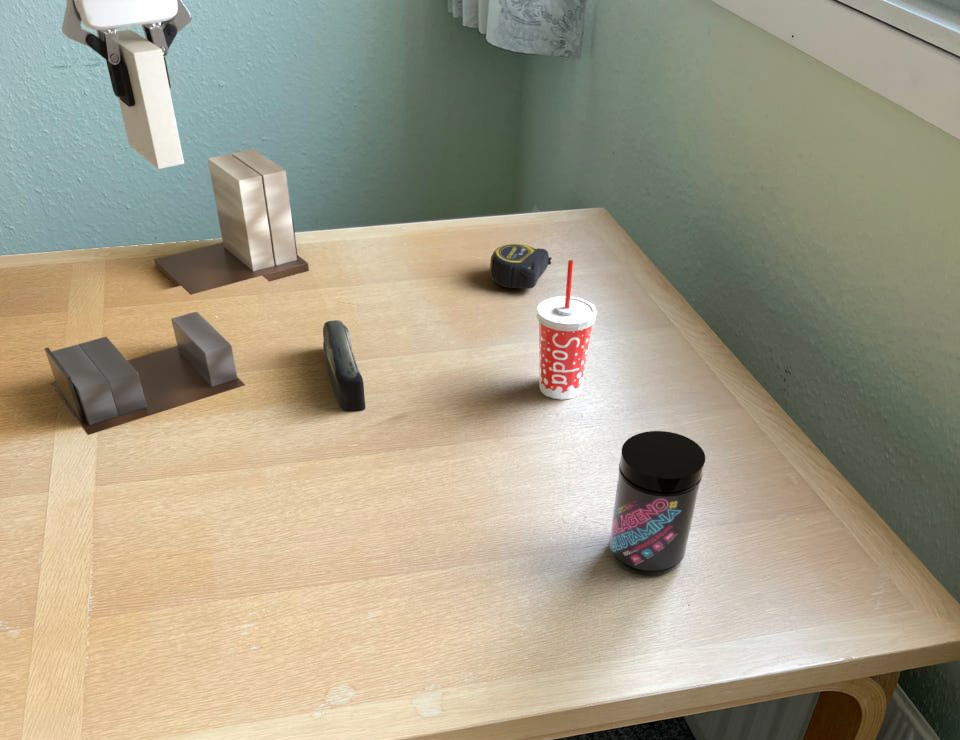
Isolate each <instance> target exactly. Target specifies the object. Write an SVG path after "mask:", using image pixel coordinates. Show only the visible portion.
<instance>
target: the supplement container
mask: <svg viewBox="0 0 960 740" xmlns="http://www.w3.org/2000/svg"><path fill="white" fill-rule="evenodd" d="M705 463H706V454H705V451H704V450H703V448H702V447H701V445H699V444H698V443H697V442H696V441H695V440H693V439H691V438H689V437H687V436H685V435H682V434H680V433H676V432H673V431H667V430H666V431H664V430H650V431H645V432H639V433H637V434H634V435H632V436H630V437H629V438H627V439H626V441H625V442H624V443H623V444H622V447H621V452H620V458H619V463H618V476H617V484H616V490H615V492H616V493H615V497H614V504H613V510H612V511H613V512H612V519H611V526H610V532H609V533H610V535H609V540H608V541H609V542H608V548H609V551H610V552H609V553H610V554H611V557H612V558H613V559H614V561H615V562H616V563H617V564H618V565H619V566H621V567H622V568H623V569H625V570H627V571H629V572H631V573H633V574H638V575H643V576H657V575H662V574H666V573H668V572H670V571H673V570H674V569H676V568H677V567H678V566H679V565H680V564H681V563H682V561H683V559H684V558H685V555H686V550H687V546H688V542H689V536H690V532H691V527H692V523H693V518H694V513H695V509H696V504H697V498H698V494H699V490H700V485H701V483H702V478H703V476H704V475H703V474H704V473H703V472H704V468H705Z"/></svg>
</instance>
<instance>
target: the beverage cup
mask: <svg viewBox="0 0 960 740" xmlns="http://www.w3.org/2000/svg"><path fill="white" fill-rule="evenodd" d="M573 267H574V260H573V259H569V260H568V261H567V272H566V286H565V287H566V288H565V295H562V296H561V295H559V296H552V297H550V298H549V297H548V298H545V299H543V300H542V301H540V302H539V303H538V305H537V307H536V318H537V320H538V349H539V350H538V354H539V355H538V358H539V359H538V362H539V364H538V365H539V366H538V367H539V368H538V369H539V371H538V373H539V376H538V377H539V379H538V380H539V384H538V385H539V390H540V392H541V394H543V395H544V396H546V397H548V398H551V399H554V400H561V401H562V400H570V399H574V398H576V397H578V396H579V395H581V393H582V390H583V385H584V378H585V373H586V366H587V362H588V361H587V360H588V355H589V348H590V343H591V337H592V336H591V335H592V330H593V325H594V324H595V322H596V319H597V314H598V310H597V307H596V306H595V304H594V303H592V302H590V301H588V300H586V299H584V298H580V297H578V296H577V297H576V296H571V294H572V293H571V292H572V279H573V270H574V269H573Z"/></svg>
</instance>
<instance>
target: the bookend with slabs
mask: <svg viewBox="0 0 960 740" xmlns="http://www.w3.org/2000/svg"><path fill="white" fill-rule="evenodd" d="M207 163H208V168H209V173H210V178H211V185H212V190H213V195H214V196H213V197H214V202H215V207H216V212H217V213H216V214H217V217H218V224H219V228H220V234H221V240H222V242H217V243H213V244H210V245H209V244H208V245H205V246H201V247H199V248H198V247H197V248H193V249H189V250H186V251H181V252H178V253H173V254H169V255H165V256H161V257H157V258H153V262H154V267H155V268H156V269H157V270H158V271H159V272H161V273H162V274H163V276H165V277H166V278H167V279H168V280H169V281H170V282H171V283H172V284H173V285H174V286H175V287H182V288H183V289H184V290H185V291H186V292H187V293H188V294H190V295H191V296H192V295H195V294H198V293H203V292H206V291H211V290H213V289H218V288H221V287H225V286H229V285H232V284H236V283H240V282H243V281H247V280H251V279H255V278H259V277H263V278H264V279H265V280H266V281H268V282H271V281H275V280H278V279H279V280H280V279H282V278H286V277H290V276H293V275H296V274H297V275H298V274H301V273H305V272H308V271H310V266H309V262H308V261H306V260H305V259H304V258H302V257H301V256H300V255H299V254H298V247H297V240H296V232H295V223H294V218H293V216H292V210H291V209H292V208H291V203H290V194H289V193H290V192H289V186H288V178H287V170H285V169H284V168H283V167H281V166H280V165H278V164H277V163H275V162H274V161H272V160H271V159H269V158H268V157H266V156H265V155H263V154H262V153H260V152H258V150H256V149H254V148H251V149H246V150H242V151H236V152H232V153H227V154H222V155H218V156H213V157H208V158H207Z"/></svg>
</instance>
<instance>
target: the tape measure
mask: <svg viewBox="0 0 960 740" xmlns="http://www.w3.org/2000/svg"><path fill="white" fill-rule="evenodd" d="M552 258H553V257H550V255H549V252H548V250H546V249H545V248H538V247H537V248H534V247H532V246H530V245H528V244H527V245H526V244H523V243H508V244H504V245H501V246H499V247H497V248H496V249H495V250H494V251H493V252H492V254H491V257H490V264H489V266H490V267H489V272H490V273H489V274H490V277H491V279H492V280H493V281H494V282H495V283H496V284H498V285H500V286H502V287H505V288H509V289H533V288H535V287H536V285H537V283H538V280H539V279H540V278H541V276H543V274H544V273H545V272H546V270H547V268H548V266H550V265H551V264H552Z"/></svg>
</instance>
